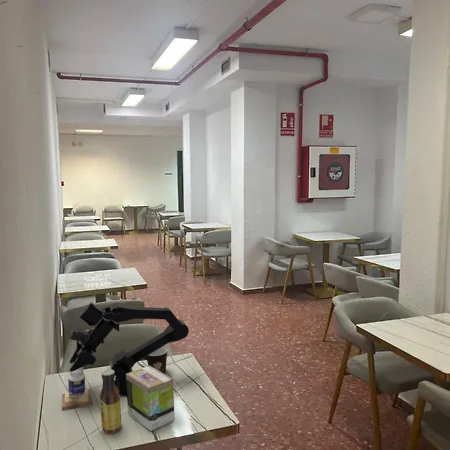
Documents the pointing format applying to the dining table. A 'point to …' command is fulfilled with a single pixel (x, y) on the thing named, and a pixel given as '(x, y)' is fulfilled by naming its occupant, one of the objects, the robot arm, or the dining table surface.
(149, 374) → the tea box
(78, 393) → the pill bottle
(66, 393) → the stand
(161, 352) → the coffee mug
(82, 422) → the dining table surface
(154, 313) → the robot arm
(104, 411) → the sauce bottle
